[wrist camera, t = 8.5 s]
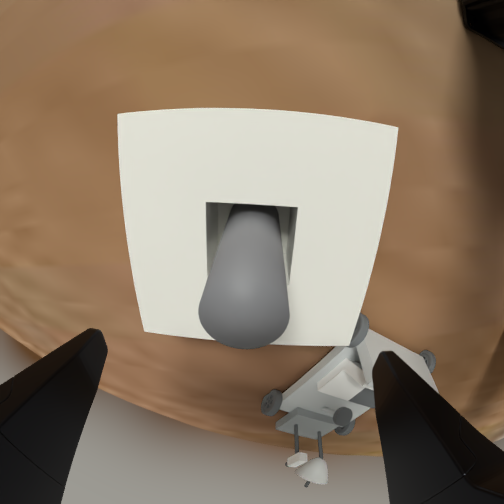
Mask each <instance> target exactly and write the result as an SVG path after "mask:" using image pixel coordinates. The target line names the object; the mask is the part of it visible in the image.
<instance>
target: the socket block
mask: <svg viewBox="0 0 504 504" xmlns="http://www.w3.org/2000/svg"><path fill="white" fill-rule="evenodd" d="M397 135H398V127H394V126H389V125H384V124H379V123H374V122H368V121H363V120H357V119H351V118H344V117H337V116H330V115H322V114H314V113H304V112H294V111H282V110H267V109H244V108H190V109H168V110H153V111H141V112H131V113H122V114H118V149H119V166H120V180H121V192H122V202H123V211H124V220H125V228H126V235H127V243H128V249H129V256H130V262H131V268H132V274H133V279H134V285H135V290H136V295H137V300H138V305H139V309H140V314H141V319H142V323H143V327H144V331H145V332H151V333H158V334H166V335H174V336H182V337H190V338H199V339H209V340H215V339H213V338H212V337H211V336H210V335H209V334H208V333H207V332H206V331H205V329H204V328H203V326H202V324H201V322H200V319H199V315H198V308H199V303H200V300H201V297H202V294H203V291H204V288H205V285H206V281H207V278H208V275H209V272H210V269H211V266H212V263H213V260H214V257H215V254H216V251H217V248H218V245H219V243H220V240H221V237H222V234H223V231H224V228H225V225H226V222H227V219H228V216H229V214H230V211H231V208H232V206H233V205H234V204H235V203H239V204H257V205H273V206H275V207H276V208H277V211H278V214H279V222H280V230H281V239H282V247H283V256H284V265H285V274H286V283H287V292H288V302H289V312H290V319H289V323H288V326H287V328H286V330H285V331H284V333H283V334H282V335H281V336H280V337H279V338H278V339H277V340H275V341H274V342H272V343H270V344H277V345H304V346H349V344H350V341H351V339H352V336H353V333H354V330H355V326H356V323H357V320H358V317H359V314H360V311H361V307H362V304H363V301H364V297H365V294H366V290H367V287H368V283H369V279H370V276H371V272H372V268H373V264H374V260H375V256H376V252H377V248H378V244H379V240H380V235H381V231H382V226H383V221H384V216H385V211H386V206H387V201H388V196H389V190H390V184H391V178H392V172H393V165H394V158H395V151H396V143H397Z"/></svg>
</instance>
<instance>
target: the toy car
mask: <svg viewBox="0 0 504 504" xmlns="http://www.w3.org/2000/svg"><path fill="white" fill-rule="evenodd" d="M381 351H393V352H395V353H396V354H397V355H398V356H399V357H400V358H401V359H402V360H403V361H404V362H406V363H407V364H408V365H409V366H410V367H411V368H412V369H413V370H414V371H415V372H416V373H417V374H418V375H419V376H421V377H422V378H423V379H424V380H425V381H426V382H427V383H428V384H429V385H430V386H431V387H432V388H433V389H434V390H435V391H436V392H438V390H437V387H436V385H435V383H434V380H433V378H432V376H431V373H432V372H433V370H434V368H435V364H436V358H435V356H434V354H433V353H431V352H430V351H428V350H424V351H422V352H421V353H420V354H419V355H418V354H416V353H414V352H412V351H410V350H408V349H407V348H405V347H403V346H401V345H399V344H397V343H395V342H393V341H391V340H389V339H387V338H386V337H384V336H382V335H380V334H378V333H376V332H374V331H372V330H370V329H369V320H368V318H367V317H366V316H365V315H363V314H362V313H360V314H359V317H358V320H357V323H356V326H355V330H354V333H353V336H352V339H351V341H350V344H349V346H336V347H335V348H334V349H333V350H332V351H331V352H330V353H328V354H327V355H326V356H325V357H324V358H323V359H322V360H321V361H320V362H319V363H317V364H316V365H315V366H314V367H313V368H312V369H311V370H310V371H308V372H307V373H306V374H305V375H304V376H303V377H302V378H300V379H299V380H298V381H297V382H296V383H295V384H293V385H292V386H291V387H290V388H289V389H287V390H286V391H285V392H284V393H281V392H280V391H278V390H276V389H273V390H272V391H271V392H270V393H269V394H267V395H266V396H265V397H264V398H263V401H262V404H261V411H262V413H263V414H265V415H268V416H273V415H275V414H276V413H277V412H278V410H279V409H280V410H283V411H286V412H289V413H288V414H287V415H285V416H284V417H283V418H281V419H280V420H278V421H277V422H276V430H280V431H283V432H287V433H291V434H294V435H295V454H294V455H293V456H291V457H289V458H287V462H286V464H285V465H286V466H287V467H298V466H300V465H302V464H303V465H302V466H300V467H299V468H298V469H296V470H295V473H296V474H297V475H298V476H299V477H301V478H303V479H305V480H307V482H306V484H305V487H308V485H309V483H310V482H313V483H317V484H327V482H328V467H327V464H326V462H325V460H324V459H323V451H322V440H321V437H322V436H324V435H325V434H327V433H329V432H330V431H332V430H335V432H336V433H337V434H339V435H347V434H349V433H350V432H351V431H352V430H353V428H354V425H355V418H357V417H358V416H360V415H361V414H363V413H364V412H366V411H367V410H369V409H370V408H375V401H374V390H373V380H372V369H373V366H374V364H375V362H376V359H377V357H378V355H379V353H380V352H381ZM438 393H439V392H438ZM298 435H299V436H303V437H307V438H312V439H316V440H317V439H318V446H319V457H318V458H314V459H312V460H309V461H307V460H308V459H307V453H302V452H299V440H298Z"/></svg>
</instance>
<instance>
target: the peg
mask: <svg viewBox="0 0 504 504" xmlns="http://www.w3.org/2000/svg"><path fill="white" fill-rule="evenodd" d="M198 315H199V319H200V322H201V324H202V326H203V328H204V329H205V331H206V332H207V333H208V334H209V335H210V336H211V337H212V338H213V339H215V340H216V341H218V342H220V343H222V344H224V345H226V346H229V347H233V348H238V349H255V348H260V347H263V346H266V345H268V344H270V343H272V342H274V341H275V340H277V339H278V338H279V337H280V336H281V335H282V334H283V333H284V331H285V330H286V328H287V326H288V323H289V319H290V312H289V302H288V292H287V283H286V274H285V265H284V256H283V247H282V239H281V230H280V222H279V214H278V211H277V208H276V207H275V206H273V205H257V204H239V203H235V204H234V205H233V206H232V208H231V211H230V214H229V216H228V219H227V222H226V225H225V228H224V231H223V234H222V237H221V240H220V243H219V245H218V248H217V251H216V254H215V257H214V260H213V263H212V266H211V269H210V272H209V275H208V278H207V281H206V285H205V288H204V291H203V294H202V297H201V300H200V303H199V308H198Z"/></svg>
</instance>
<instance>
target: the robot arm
mask: <svg viewBox="0 0 504 504" xmlns="http://www.w3.org/2000/svg"><path fill="white" fill-rule="evenodd" d="M461 1H462V7H463V17H464V24H465V26H466V27H467V29H469V30H470V31H472V32H474V33H476V34H478V35H480V36H482V37H484V38H485V39H487V40H489V41H491V42H492V43H494V44H496V45H497V46H499V47H501V48H502V49H504V0H461ZM469 23H470V24H471V25H470V24H469ZM107 352H108V349H107V345H106V342H105V339H104V336H103V334H102V332H101V330H99V329H94V328H89V329H87V330H86V331H84V332H82V333H81V334H79V335H78V336H76V337H74V338H73V339H71V340H70V341H68V342H66V343H65V344H63V345H62V346H60V347H59V348H57V349H55V350H54V351H52V352H51V353H49V354H48V355H46V356H45V357H43V358H41V359H40V360H38V361H37V362H35V363H34V364H32V365H31V366H29V367H28V368H26V369H24V370H23V371H21V372H20V373H18V374H17V375H15V376H14V377H12V378H11V379H9V380H8V381H6V382H4V383H3V384H1V385H0V504H61V501H62V497H63V493H64V489H65V485H66V481H67V478H68V474H69V471H70V468H71V464H72V461H73V458H74V455H75V451H76V448H77V445H78V442H79V439H80V436H81V433H82V430H83V428H84V425H85V422H86V419H87V416H88V413H89V410H90V408H91V405H92V403H93V400H94V397H95V395H96V392H97V389H98V385H99V382H100V378H101V374H102V370H103V367H104V363H105V360H106V356H107ZM372 380H373V390H374V401H375V412H376V419H377V424H378V429H379V435H380V440H381V446H382V452H383V458H384V464H385V471H386V478H387V484H388V492H389V501H390V504H504V451H502V450H501V449H500V448H499V447H497V446H496V445H495V444H493V443H492V442H491V441H490V440H488V439H487V438H486V437H485V436H484V435H482V434H481V433H480V432H479V431H478V430H477V429H475V428H474V427H473V426H472V425H471V424H470V423H469V422H468V421H467V420H466V419H465V418H464V417H463V416H461V415H460V414H459V413H458V412H457V411H456V410H455V409H454V408H453V407H452V406H451V405H450V404H449V403H448V402H447V401H446V400H445V399H444V398H443V397H442V396H441V395H440V394H439V393H438V392H436V391H435V390H434V389H433V388H432V387H431V386H430V385H429V384H428V383H427V382H426V381H425V380H424V379H423V378H422V377H421V376H419V375H418V374H417V373H416V372H415V371H414V370H413V369H412V368H411V367H410V366H409V365H408V364H407V363H406V362H404V361H403V360H402V359H401V358H400V357H399V356H398V355H397V354H396V353H395V352H393V351H381V352H380V353H379V355H378V357H377V359H376V362H375V364H374V366H373V369H372Z"/></svg>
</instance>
